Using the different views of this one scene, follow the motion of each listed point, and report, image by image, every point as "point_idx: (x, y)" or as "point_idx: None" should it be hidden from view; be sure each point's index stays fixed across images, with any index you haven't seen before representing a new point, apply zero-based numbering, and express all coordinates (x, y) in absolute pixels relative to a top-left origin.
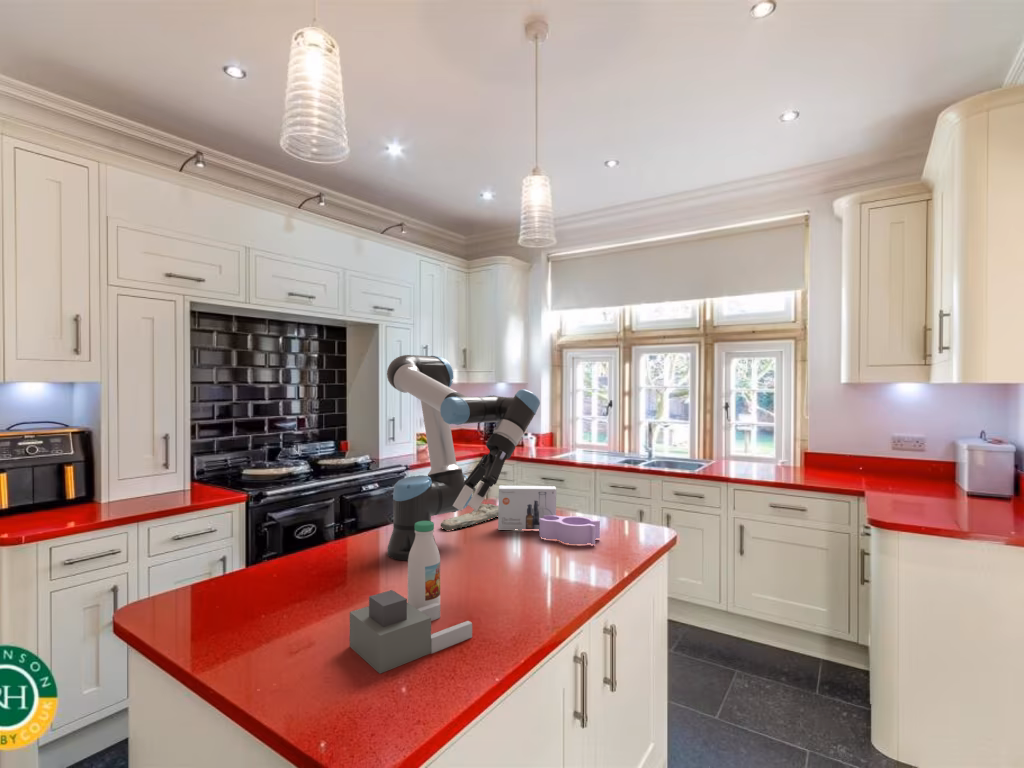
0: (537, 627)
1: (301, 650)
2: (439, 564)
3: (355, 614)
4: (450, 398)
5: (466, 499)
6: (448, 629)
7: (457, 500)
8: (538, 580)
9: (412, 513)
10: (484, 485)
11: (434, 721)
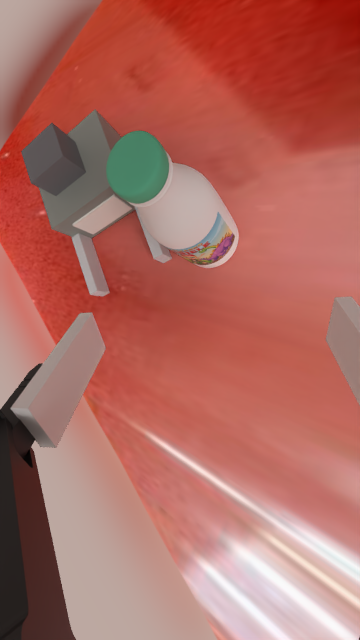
0: (101, 385)
1: (133, 80)
2: (168, 248)
3: (86, 120)
4: None
5: (350, 380)
6: (83, 260)
7: (348, 323)
8: (258, 485)
9: None
10: (3, 408)
11: (5, 237)
